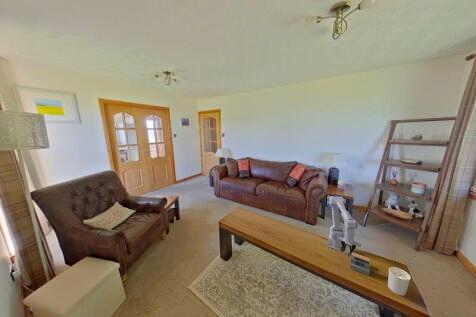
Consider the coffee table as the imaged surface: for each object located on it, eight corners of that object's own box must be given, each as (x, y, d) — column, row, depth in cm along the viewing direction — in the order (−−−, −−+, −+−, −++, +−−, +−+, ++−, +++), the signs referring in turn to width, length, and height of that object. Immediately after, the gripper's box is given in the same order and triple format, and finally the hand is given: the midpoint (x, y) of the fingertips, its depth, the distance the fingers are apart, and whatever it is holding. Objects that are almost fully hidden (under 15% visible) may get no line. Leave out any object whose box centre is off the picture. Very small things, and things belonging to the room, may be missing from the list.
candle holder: (383, 280, 109) (385, 264, 108) (402, 285, 106) (405, 269, 104) (390, 293, 100) (393, 276, 99) (411, 299, 97) (414, 282, 95)
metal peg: (343, 255, 123) (344, 245, 122) (344, 251, 126) (345, 242, 125) (350, 257, 120) (351, 247, 119) (350, 254, 124) (351, 244, 122)
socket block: (350, 268, 119) (350, 261, 118) (350, 258, 129) (351, 251, 128) (369, 276, 113) (370, 269, 112) (368, 264, 122) (369, 258, 121)
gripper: (337, 234, 122) (335, 250, 124) (361, 242, 113) (359, 259, 115) (338, 229, 127) (336, 245, 130) (361, 237, 119) (359, 253, 121)
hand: (347, 251), depth 123 cm, fingers closed on metal peg, 4 cm apart
